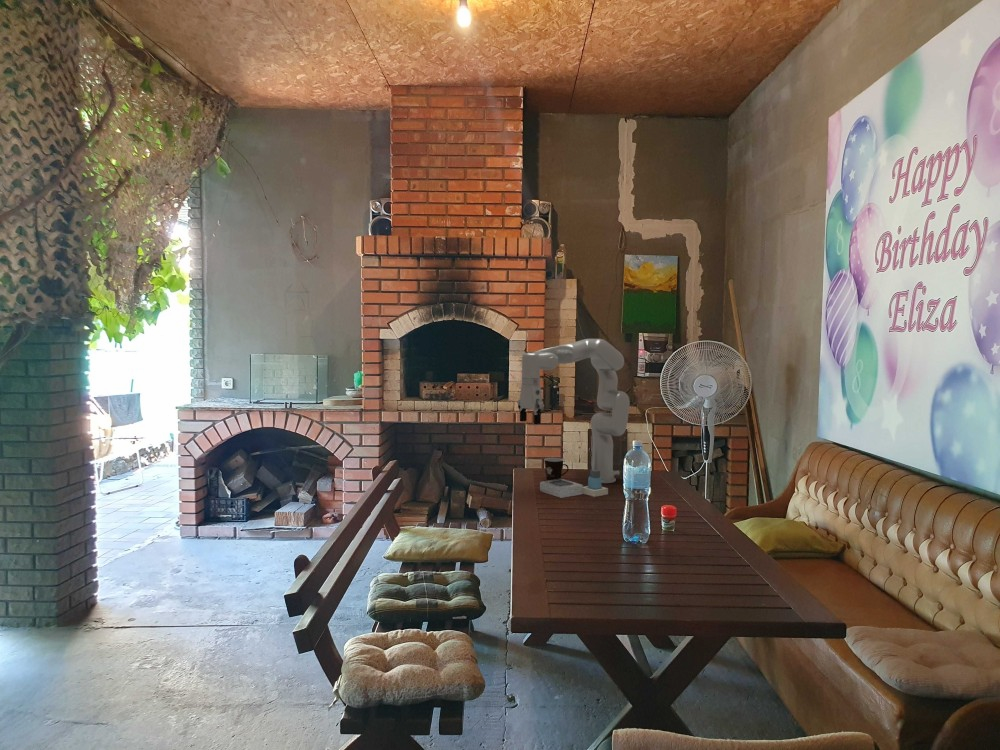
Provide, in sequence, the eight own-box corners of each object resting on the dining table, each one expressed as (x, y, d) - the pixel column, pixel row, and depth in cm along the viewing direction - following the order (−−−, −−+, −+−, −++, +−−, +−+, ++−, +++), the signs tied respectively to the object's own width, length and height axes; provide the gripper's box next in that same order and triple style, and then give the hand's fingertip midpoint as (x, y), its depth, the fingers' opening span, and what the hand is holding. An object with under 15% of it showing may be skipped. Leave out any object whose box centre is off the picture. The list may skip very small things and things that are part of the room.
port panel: (561, 487, 282) (561, 477, 282) (582, 494, 271) (582, 484, 271) (539, 491, 275) (540, 481, 275) (561, 498, 264) (561, 487, 264)
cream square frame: (594, 490, 278) (595, 484, 278) (608, 494, 271) (608, 488, 271) (581, 492, 273) (581, 487, 273) (594, 496, 267) (594, 490, 266)
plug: (594, 492, 275) (595, 469, 274) (601, 493, 272) (601, 470, 271) (587, 493, 273) (588, 470, 272) (594, 495, 269) (594, 471, 269)
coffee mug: (540, 479, 297) (541, 458, 296) (556, 478, 300) (557, 457, 300) (553, 485, 286) (553, 463, 286) (569, 483, 290) (570, 461, 289)
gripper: (550, 383, 263) (550, 424, 264) (525, 380, 277) (524, 419, 278) (536, 383, 259) (535, 425, 260) (511, 381, 273) (510, 420, 274)
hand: (530, 422), depth 269 cm, fingers open, 9 cm apart
